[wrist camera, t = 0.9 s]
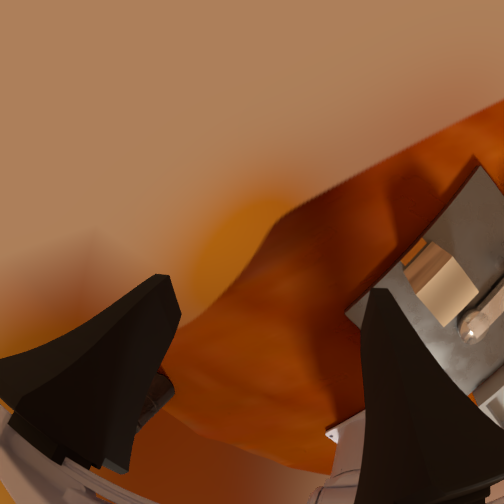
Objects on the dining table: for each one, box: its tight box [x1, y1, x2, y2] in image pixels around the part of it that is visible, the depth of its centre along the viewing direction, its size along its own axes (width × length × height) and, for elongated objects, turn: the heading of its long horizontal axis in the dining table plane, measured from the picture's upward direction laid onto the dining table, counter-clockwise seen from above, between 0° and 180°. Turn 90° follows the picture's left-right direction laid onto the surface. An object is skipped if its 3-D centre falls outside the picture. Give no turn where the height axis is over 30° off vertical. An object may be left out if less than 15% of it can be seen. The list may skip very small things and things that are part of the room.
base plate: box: [344, 166, 504, 395], centre depth 22 cm, size 20×20×1 cm
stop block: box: [403, 241, 479, 327], centre depth 20 cm, size 4×4×6 cm
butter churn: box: [135, 372, 175, 434], centre depth 27 cm, size 9×10×28 cm
